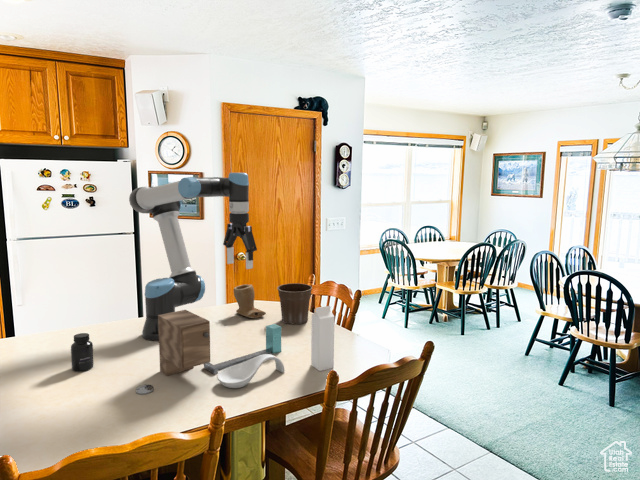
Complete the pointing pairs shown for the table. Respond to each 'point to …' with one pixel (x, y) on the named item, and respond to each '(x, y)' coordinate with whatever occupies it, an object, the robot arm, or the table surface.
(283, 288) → the plant pot
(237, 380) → the spoon rest
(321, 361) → the milk
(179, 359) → the low cabinet
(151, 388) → the steel token
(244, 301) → the brown boot
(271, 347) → the scraper
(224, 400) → the table surface
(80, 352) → the supplement bottle
